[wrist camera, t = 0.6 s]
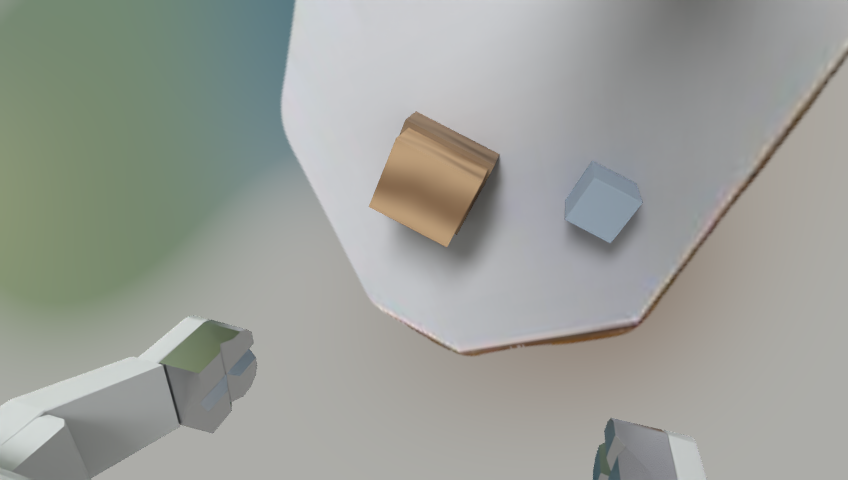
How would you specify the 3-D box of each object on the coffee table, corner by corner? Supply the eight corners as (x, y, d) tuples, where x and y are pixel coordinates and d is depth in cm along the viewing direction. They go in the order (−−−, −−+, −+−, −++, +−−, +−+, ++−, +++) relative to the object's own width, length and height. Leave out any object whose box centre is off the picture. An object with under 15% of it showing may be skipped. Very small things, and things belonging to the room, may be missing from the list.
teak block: (408, 127, 47) (396, 138, 44) (488, 168, 47) (481, 182, 43) (382, 192, 51) (368, 206, 48) (454, 230, 51) (446, 247, 48)
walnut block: (416, 110, 50) (405, 119, 47) (499, 153, 50) (494, 165, 46) (388, 180, 55) (376, 192, 52) (464, 219, 55) (456, 234, 51)
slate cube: (592, 160, 47) (594, 177, 43) (636, 183, 47) (642, 202, 43) (565, 199, 50) (564, 219, 46) (607, 221, 50) (610, 243, 46)
